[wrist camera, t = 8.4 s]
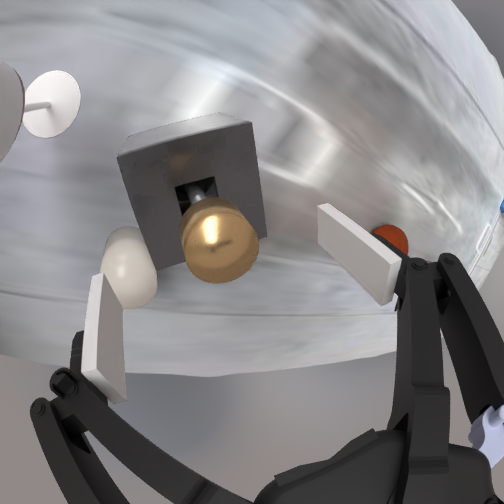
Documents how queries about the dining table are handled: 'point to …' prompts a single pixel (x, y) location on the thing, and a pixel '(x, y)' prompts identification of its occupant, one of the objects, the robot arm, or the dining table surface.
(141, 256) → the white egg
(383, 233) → the fruit
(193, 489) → the robot arm
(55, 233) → the dining table surface
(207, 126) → the grey block with hole
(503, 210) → the ink box
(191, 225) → the gold knobbed rod
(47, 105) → the wineglass
